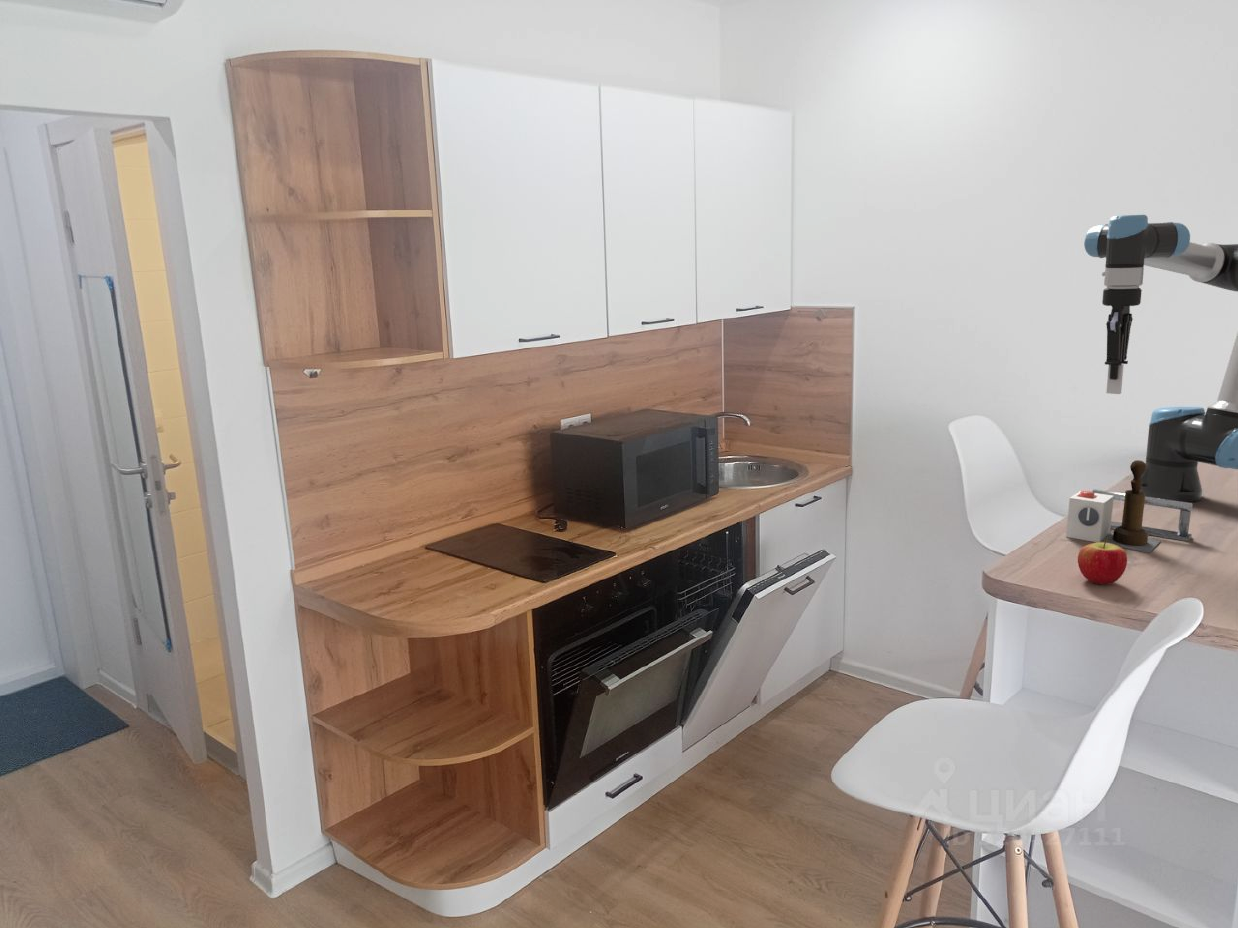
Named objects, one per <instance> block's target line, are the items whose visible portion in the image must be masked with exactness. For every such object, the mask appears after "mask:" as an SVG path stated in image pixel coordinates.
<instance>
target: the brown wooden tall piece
mask: <svg viewBox="0 0 1238 928" xmlns="http://www.w3.org/2000/svg"><path fill="white" fill-rule="evenodd" d="M1145 463H1146V462H1144V461H1142V460H1141V459H1140V460H1139V459H1138V460H1137V459H1136V460H1134V461H1133V462H1131V463H1130V466H1129V467H1130V468H1129V469H1130V471H1131V474H1132V475H1133V479H1132V480H1131V479H1130V487H1131V489H1129V490H1125V491H1124V492H1125V500H1124V501H1123V511H1122V519H1121V523H1122V526H1119V527H1117V528H1116V529H1113V533H1114V534H1113V540H1114V541H1116V542H1118V543H1122V544H1127V545H1137V546H1138V545H1146V544H1147V541H1148V539H1149V535H1148V533H1147V532H1146V531H1145V530H1144V529H1143V528H1142V526H1143V521H1144V520H1143V518H1144V511H1145V510H1144V509H1145V504H1144V503H1145V496H1146V493H1145V492H1142V491H1140V489H1141V487H1142V484H1143V482H1142V481H1141V476H1142V475H1143V473H1144V472H1145V471H1146V464H1145Z"/></svg>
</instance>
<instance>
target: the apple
mask: <svg viewBox="0 0 1238 928" xmlns="http://www.w3.org/2000/svg"><path fill="white" fill-rule="evenodd" d="M1109 537H1110V535H1109V536H1108V537H1107V539H1106V541H1107V540H1108V538H1109ZM1106 541H1105V543H1104V542H1093V543H1092V542H1091V543H1089V544H1087V545H1084V546H1083V547H1081V549H1079V552H1078V555H1077V564H1078V569H1079V570H1080V573H1081V574H1082V576H1083V577H1084V578H1085V579H1086V580H1087V581H1089V582H1091V583H1093V584H1096V585H1103V586H1106V585H1110V584H1113V583H1115V582H1117V581H1118V580H1119V579H1120V578H1121V577H1122V576H1123V574H1124V573H1125V571H1126V568H1127V565H1128V556H1127V552H1126V549H1124V548H1121V547H1119V546H1117V545H1114V544H1110V543H1106Z"/></svg>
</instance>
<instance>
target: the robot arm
mask: <svg viewBox="0 0 1238 928" xmlns="http://www.w3.org/2000/svg"><path fill="white" fill-rule="evenodd" d="M1084 238H1085V239H1084V241H1083V242H1084V250H1085V252H1086V254H1088V255H1089V256H1090V257H1093V258H1099V259H1104V258H1105V266H1104V267H1105V268H1104V269H1105V270H1104V271H1103V272H1102V273H1101V276H1102V277H1104V279H1103V280H1104V281H1103V285H1104V286H1105V288H1104V289H1103V290H1102V299H1101V300H1102V302H1101V303H1102V305H1103V306H1107V307H1111V310H1110V311H1111V312H1110V313H1109V314H1108V316H1107V317H1108V319H1107V321H1106V361H1104V365H1108V368H1107V369H1108V370H1107V382H1106V392H1105V393H1106V394H1113V395H1121V394H1122V386H1123V376H1124V375H1123V374H1124V365H1128V362H1129V361H1128V360H1127V357H1128V356H1127V355H1128V348H1129V343H1130V342H1129V341H1130V334H1131V327H1132V323H1133V320H1134V319H1133V314H1132V313H1131V307H1135V306H1136V307H1137V306H1139V305H1141V301H1142V291H1143V289H1141V286H1142V285H1143V284H1144V283H1143V281H1144V268H1145V267H1144V266H1146V267H1150V268H1156V269H1159V270H1163V271H1168V272H1173V273H1177V274H1180V275H1181V274H1182V275H1186V276H1189V278H1190V279H1191V280H1192V281H1194V282H1197V283H1202V284H1205V285H1208V286H1213V287H1216V288H1220V289H1222V290H1223V289H1224V290H1227V291H1232V292H1237V293H1238V243H1233V244H1230V243H1229V244H1218V243H1214V242H1205V243H1203V244H1199V243H1196V242H1190V241H1191V234H1190V231H1189V229H1188V227H1187V226H1186V225H1185V224H1183V223H1180V222H1172V221H1170V222H1150V223H1149V219H1148V216H1147V215H1146V214H1128V215H1125V214H1123V215H1114V216H1112V217H1111V218H1110V219H1109V223H1105V224H1100V225H1095V226H1093V227H1091V228H1090V229H1089V230H1087V232H1086V235H1085V237H1084ZM1232 346H1233V347H1232V350H1231V354H1230V355H1229V356H1230V357H1229V360H1228V363H1227V367H1226V369H1225V373H1224V377H1223V379H1222V383H1221V386H1220V390H1219V393H1218V396H1217V399H1216V401H1215V402H1214V403H1212V404H1210V405H1208V406H1207V409H1206V412H1205V408H1204V407H1201V406H1173V407H1172V406H1169V407H1168V406H1166V407H1159V408H1155V409H1154V410H1153V411H1152V413H1151V417H1150V421H1149V424H1148V426H1149V427H1148V436H1147V437H1148V438H1147V444H1146V455H1145V456H1146V457H1145V462H1144V463H1145V464H1146V471H1145V472H1144V473H1143V475H1142V476H1141V481H1142V482H1143V484H1142V487H1141V489H1140V491H1142V492H1145V493H1146V497H1153V498H1160V499H1167V500H1174V501H1181V502H1187V503H1194V502H1198V501H1200V500H1202V496H1203V488H1202V483H1201V480H1200V475H1199V471H1198V465H1199V463H1203V464H1206V465H1207V464H1208V465H1211V466H1217V467H1219V468H1222V469H1230V470H1231V469H1233V470H1238V332H1237V334H1236V338H1235V340H1234V343H1233V345H1232Z"/></svg>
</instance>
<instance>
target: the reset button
mask: <svg viewBox="0 0 1238 928" xmlns="http://www.w3.org/2000/svg"><path fill="white" fill-rule="evenodd" d="M1080 491H1081V492H1080V497H1084V498H1091V499H1094V492H1092V491H1090V490H1080Z"/></svg>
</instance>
